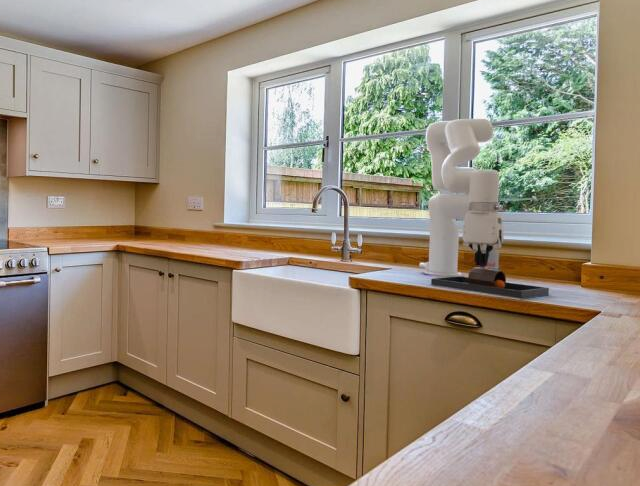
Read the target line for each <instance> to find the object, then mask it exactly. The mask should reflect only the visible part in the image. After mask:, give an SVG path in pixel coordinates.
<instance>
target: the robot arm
mask: <svg viewBox="0 0 640 486" xmlns="http://www.w3.org/2000/svg"><path fill="white" fill-rule="evenodd" d="M493 133H494V126H493V124H492V122H491V121H490V120H489V119H488V118H487V119H486V118H461V119H460V118H458V119H454V120H440V121H435V122H432V123H430V124H429V125H428V126H427V127H426V131H425V143H426V147H427V149H428V152H429V155H430V159H431V160H430V161H431V184H432V187H433V189H434V190H435V191H439V192H449V193H439V194H434V195H433V196H431V197H430V198H429V199H428V203H427V207H428V214H429V247H428V261H426V262H422V261H421V262H419V264H418V266H419V268H425V269H424V270H423V274H425V275H430V276H440V277H456V276H462V277H463V273H461V272H458V266H459V265H458V264H459V239H460V230H459V228H458V226H457V225H456V223H455V222H454V221H453V220H464V221H463V226H462V240H463V241H462V246H464V247H468V248H470V249H471V250H472V252H473V253H474V263H475V266H486V263H487V262H488V253H490V251H491V250H493V249H496V250H498V249H502V247H503V246H502V244H503V243H504V235H505V234H504V223H503V217H502V212H499V210H503V208H504V207H503V204H500V203H499V191H500V190H499V189H500V187H499V186H500V173H499V171H498V170H496V169H489V168H488V169H486V168H485V169H477V168H475V167H470V166H468V167H467V166H460V165H463V164H465V163H468V162H471V161H473V160H475V159H476V158H477V157H478V156H479V154H480V152H481V148H480V145H479V144H481V143H482V144H483V143H487V142H489V141H490V140H491V139H492V137H493V135H494V134H493ZM481 249H482V250H481Z"/></svg>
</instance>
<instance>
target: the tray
mask: <svg viewBox="0 0 640 486" xmlns="http://www.w3.org/2000/svg"><path fill="white" fill-rule="evenodd" d="M430 285H432V286H436V287H444V288H451V289H457V290H462V291H463V290H464V291H469V292H470V291H471V292H477V293H483V294H489V295H490V294H491V295H496V296H503V297H508V298H509V297H510V298H515V299H519V300H521V301H522V300H527V299H528V300H529V299H534V298H543V297H548V296H549V294H550V291H549V290H550V287H545V286H539V285H531V284H523V283H515V282H508V281H506V283H505V287H504V288H496V287H489V286H482V285H475V284H469V281H468V276H463V275H462V276H456V277H448V276H443V277H435V278H432V277H431V280H430Z"/></svg>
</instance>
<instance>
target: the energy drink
mask: <svg viewBox="0 0 640 486" xmlns="http://www.w3.org/2000/svg"><path fill="white" fill-rule="evenodd" d="M481 250H482V248H481ZM499 258H500V252H499V249H493V250H491V251H490V253H488V262H487V263H486V266H479V265H478V266H479V267H478V268H486V269H494V270H499V265H500V264H499V262H500V259H499Z"/></svg>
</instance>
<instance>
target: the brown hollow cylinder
mask: <svg viewBox="0 0 640 486" xmlns="http://www.w3.org/2000/svg"><path fill="white" fill-rule="evenodd" d="M467 277H468V281H469V284H475V285H482V286H489V287H495V284H494V281H496V280H501V281H503V282H504V283H506V282H507V277H506V273H505V272H504V271H503V270H502V269H498V270H494V269H486V268H479V267H472V268H471V269H470V270H469V273H468V275H467Z"/></svg>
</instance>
